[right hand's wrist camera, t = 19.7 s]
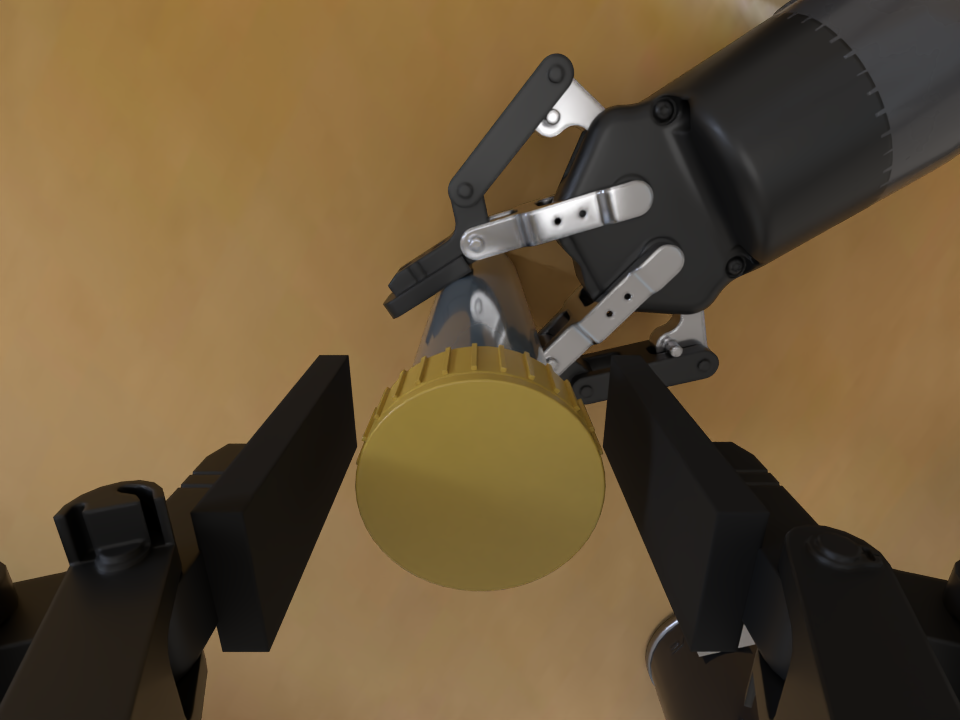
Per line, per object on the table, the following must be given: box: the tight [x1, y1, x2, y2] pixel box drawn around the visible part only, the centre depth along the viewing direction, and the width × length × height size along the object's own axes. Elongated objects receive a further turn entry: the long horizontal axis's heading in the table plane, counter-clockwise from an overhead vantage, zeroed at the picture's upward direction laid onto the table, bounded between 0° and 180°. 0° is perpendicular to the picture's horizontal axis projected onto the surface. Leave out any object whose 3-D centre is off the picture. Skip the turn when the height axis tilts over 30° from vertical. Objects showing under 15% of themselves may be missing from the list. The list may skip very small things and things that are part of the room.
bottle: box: [413, 253, 547, 367], centre depth 19 cm, size 4×4×18 cm
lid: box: [355, 343, 606, 591], centre depth 11 cm, size 5×5×2 cm
